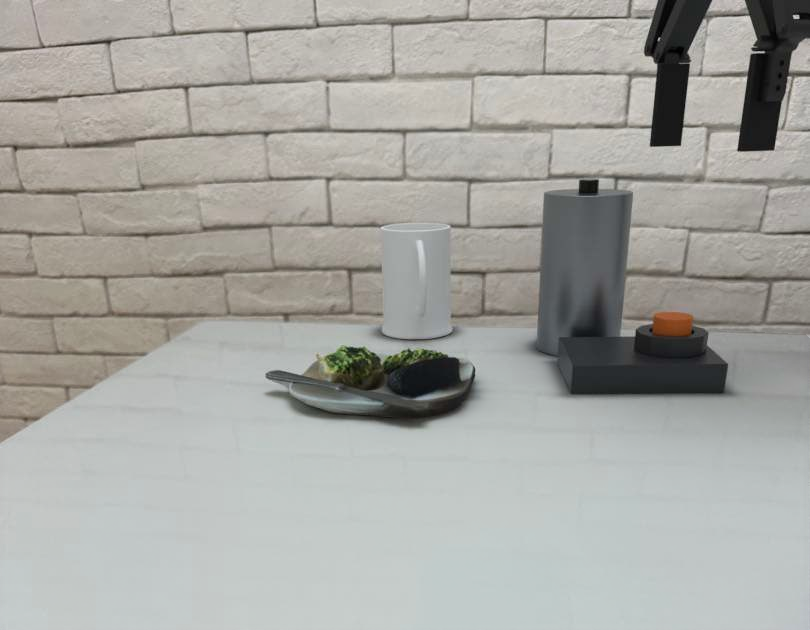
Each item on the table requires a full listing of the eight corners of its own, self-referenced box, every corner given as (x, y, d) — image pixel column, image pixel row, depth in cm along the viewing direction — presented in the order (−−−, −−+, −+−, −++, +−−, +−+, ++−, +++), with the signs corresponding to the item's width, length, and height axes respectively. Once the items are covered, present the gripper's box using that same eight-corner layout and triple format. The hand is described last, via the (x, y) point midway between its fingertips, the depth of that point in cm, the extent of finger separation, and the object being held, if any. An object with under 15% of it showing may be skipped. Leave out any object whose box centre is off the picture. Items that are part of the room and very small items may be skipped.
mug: (455, 346, 97) (455, 233, 91) (379, 347, 97) (375, 235, 91) (450, 322, 107) (451, 221, 102) (382, 324, 107) (379, 222, 102)
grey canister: (611, 337, 99) (625, 175, 91) (626, 357, 91) (642, 181, 83) (533, 338, 99) (540, 177, 91) (540, 358, 91) (549, 183, 83)
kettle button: (685, 329, 83) (687, 311, 83) (695, 338, 80) (697, 319, 79) (648, 330, 84) (650, 312, 83) (656, 338, 80) (658, 320, 80)
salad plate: (235, 418, 75) (230, 366, 73) (299, 365, 90) (296, 321, 88) (455, 429, 71) (455, 375, 69) (482, 371, 87) (482, 325, 85)
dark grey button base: (693, 361, 88) (699, 317, 86) (724, 392, 79) (731, 344, 77) (557, 363, 89) (559, 319, 87) (570, 394, 79) (574, 345, 77)
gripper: (619, -132, 72) (599, 145, 81) (815, -241, 50) (756, 155, 60) (699, -129, 74) (670, 143, 83) (923, -233, 52) (849, 151, 61)
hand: (706, 149), depth 71 cm, fingers open, 13 cm apart
